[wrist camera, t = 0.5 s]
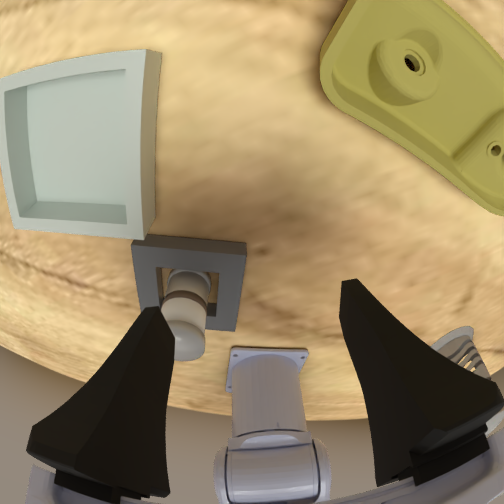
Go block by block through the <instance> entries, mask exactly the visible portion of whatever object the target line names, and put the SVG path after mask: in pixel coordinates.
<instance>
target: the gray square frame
mask: <svg viewBox="0 0 504 504" xmlns="http://www.w3.org/2000/svg"><path fill="white" fill-rule="evenodd" d="M131 250H132V258H133V265H134V272H135V279H136V285H137V291H138V297H139V303H140V309H141V312H142V311H143V310H144V308H145V307H153V306H159V308H160V310H161V307H162V303H163V300H164V298H163V287H162V275H161V268H171V269H182V270H192V271H203V272H214V273H219V285H218V297H217V304H213V303H208V304H207V317H206V323H205V329H208V330H220V331H233V332H235V329H236V322H237V316H238V309H239V302H240V296H241V289H242V283H243V276H244V270H245V263H246V257H247V251H246V243H238V242H227V241H217V240H206V239H194V238H183V237H172V236H160V235H149V234H147V235H146V237H145V239H144V240H136V239H134V240H133V242H132V244H131Z"/></svg>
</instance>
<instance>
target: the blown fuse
mask: <svg viewBox="0 0 504 504" xmlns="http://www.w3.org/2000/svg"><path fill="white" fill-rule="evenodd" d="M210 288H211V278H210V276H209V274H208V273H207V272H203V271H192V270H182V269H172V270H171V272H170V274H169V278H168V281H167V290H166V293H165V297H164V300H163V303H162V307H161V312H162V314H163V316H164V318H165V320H166V322H167V323H168V325H169V327H170V329H171V331H172V333H173V335H174V337H175V356H174V360H176V361H192V360H195V359H198V358H200V357H201V356H202V355H203V353H204V350H205V335H204V333H205V323H206V317H207V304H208V295H209V293H210Z"/></svg>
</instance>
